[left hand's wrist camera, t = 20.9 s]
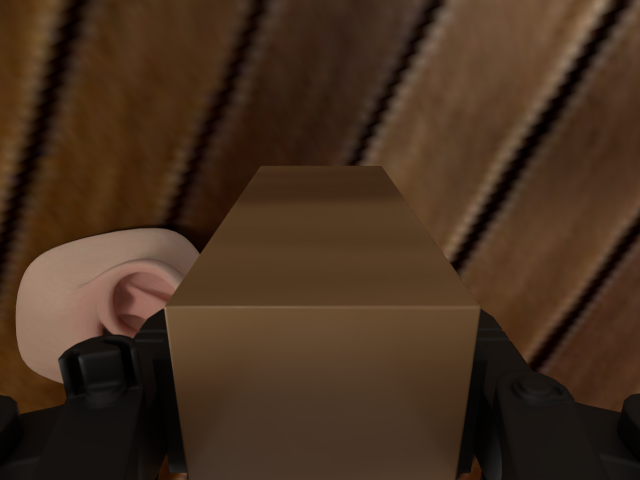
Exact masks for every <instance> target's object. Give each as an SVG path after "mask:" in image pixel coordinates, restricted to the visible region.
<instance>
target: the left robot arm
mask: <svg viewBox="0 0 640 480" xmlns="http://www.w3.org/2000/svg"><path fill="white" fill-rule="evenodd" d="M58 363H59V367H60V371H61V375H62V379H63V383H64V388H65V392H66V396H67V399H66V401H65V403H64V404H63V405H60V406H56V407H52V408H47V409H43V410H38V411H33V412H29V413H24V414H20V412H19V409H18V406H17V402H16V401H14V400H13V399H12V398H11V397H8V396H2V395H0V480H160V478H159V470H160V468H161V465H162V463H163V460H164V458H165V455H166V453H167V457H168V464H169V470H170V473H187V470H186V463H185V455H184V448H183V441H182V434H181V426H180V419H179V412H178V405H177V397H176V390H175V383H174V376H173V369H172V361H171V354H170V347H169V340H168V332H167V325H166V318H165V311H164V309H161V310H159V311H158V312H156V313H155V314H153V315H152V316H150V317H149V318H147V320H146V321H145V322H144V324H143V325H142V327H141V328H140V329H139V333H136V335H135V336H134V338H133V339H132V338H131V337H129V336H125V335H121V334H111V335H102V336H97V337H92V338H89V339H87V340H84V341H82V342H79V343H77V344H75V345H74V346H72V347H70V348H69V349H67V350H66V351H65V352H64V353H63V354H62V355H61V356H60V357H59V358H58ZM474 452H475V455H476V457H477V460H478V462H479V465H480V467H481V469H482V472H481V478H480V480H640V393H639V394H633V395H630V396H629V397H628V398H627V399H625V400H624V404H623V407H622V410H621V412H616V411H611V410H607V409H602V408H597V407H592V406H588V405H584V404H580V403H577V402H575V400H574V398H573V396H572V395H571V394H570V392H569V391H568V390H567V388H566V387H564V386H563V385H562V384H560V383H559V382H558V381H556V380H555V379H553V378H550V377H548V376H546V375H544V374H541V373H537V372H533V371H532V369H531V368H530V367H529V365H528V364H527V363H526V361H525V360H524V359H523V357H522V356H521V354H520V353H519V352H518V350H517V349H516V348H515V346H514V345H513V343H512V342H511V341H509V338H508V337H507V335H506V334H505V332H504V331H502V328H501V327H500V326H499V324H498V323H497V321H496V320H495V319H494V317H492V316H491V315H489V314H488V313H486V312H485V311H483V310H482V309H480V316H479V323H478V330H477V337H476V344H475V351H474V358H473V365H472V372H471V379H470V386H469V393H468V400H467V407H466V414H465V421H464V428H463V435H462V442H461V449H460V456H459V463H458V470H457V473H470V472H471V466H472V459H473V453H474Z"/></svg>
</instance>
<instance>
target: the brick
mask: <svg viewBox="0 0 640 480" xmlns="http://www.w3.org/2000/svg"><path fill="white" fill-rule="evenodd" d="M480 309H481V308H480V305H479V304H478V302H477V301H476V300H475V298H474V297H473V295H472V294H471V293H470V291H469V290H468V288H467V287H466V285H465V284H464V283H463V281H462V280H461V278H460V277H459V275H458V274H457V273H456V271H455V270H454V268H453V267H452V266H451V264H450V263H449V261H448V260H447V258H446V257H445V256H444V254H443V253H442V251H441V250H440V248H439V247H438V246H437V244H436V243H435V241H434V240H433V239H432V237H431V236H430V234H429V233H428V231H427V230H426V229H425V227H424V226H423V224H422V223H421V221H420V220H419V219H418V217H417V216H416V214H415V213H414V211H413V210H412V209H411V207H410V206H409V204H408V203H407V202H406V200H405V199H404V197H403V196H402V194H401V193H400V192H399V190H398V189H397V187H396V186H395V184H394V183H393V182H392V180H391V179H390V177H389V176H388V175H387V173H386V172H385V170H384V169H383V167H382V166H261V167H260V168H259V170H258V171H257V172H256V174H255V175H254V177H253V178H252V180H251V181H250V183H249V184H248V186H247V187H246V188H245V190H244V191H243V193H242V194H241V196H240V197H239V199H238V200H237V202H236V203H235V204H234V206H233V207H232V209H231V210H230V212H229V213H228V215H227V216H226V218H225V219H224V220H223V222H222V223H221V225H220V226H219V228H218V229H217V231H216V232H215V234H214V235H213V236H212V238H211V239H210V241H209V242H208V244H207V245H206V247H205V248H204V250H203V251H202V252H201V254H200V255H199V257H198V258H197V260H196V261H195V263H194V264H193V266H192V267H191V268H190V270H189V271H188V273H187V274H186V276H185V277H184V279H183V280H182V282H181V283H180V284H179V286H178V287H177V289H176V290H175V292H174V293H173V295H172V296H171V298H170V299H169V300H168V302H167V303H166V305H165V307H164V311H165V318H166V325H167V332H168V340H169V347H170V354H171V361H172V369H173V376H174V383H175V390H176V397H177V405H178V412H179V419H180V426H181V434H182V441H183V448H184V455H185V463H186V470H187V477H188V480H456V477H457V470H458V463H459V456H460V449H461V442H462V435H463V428H464V421H465V414H466V407H467V400H468V393H469V386H470V379H471V372H472V365H473V358H474V351H475V344H476V337H477V330H478V323H479V316H480Z"/></svg>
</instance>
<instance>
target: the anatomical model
mask: <svg viewBox="0 0 640 480" xmlns="http://www.w3.org/2000/svg"><path fill="white" fill-rule="evenodd" d="M199 255H200V254H199V252H198V251H197V250H196V248H195V247H194V246H193V245H192V244H191V243H190V242H189V241H188V240H187V239H186V238H185V237H184V236H182V235H180V234H178V233H177V232H174V231H171V230H167V229H160V228H142V229H132V230H124V231H117V232H111V233H106V234H101V235H96V236H92V237H88V238H83V239H80V240H76V241H73V242H69V243H66V244H63V245H61V246H58V247H55V248H53V249H51V250H49V251H47V252H45V253H43V254H42V255H40V256H39V257H38V258H36V259H35V260H34V261H33V262H32V263H31V264H30V266H29V267H28V268H27V270H26V272H25V273H24V276H23V278H22V281H21V284H20V287H19V291H18V297H17V304H16V334H17V341H18V347H19V350H20V353H21V356H22V358H23V360H24V361H25V363H26V364H27V366H29V367H30V368H31V369H32V370H33V371H35V372H37V373H38V374H40V375H42V376H44V377H47V378H49V379H51V380H54V381H57V382H60V383H63V379H62V375H61V371H60V367H59V363H58V358H59V357H60V356H61V355H62V354H63V353H64V352H65V351H66V350H67V349H69V348H70V347H72V346H74V345H75V344H77V343H79V342H82V341H84V340H87V339H89V338H92V337H97V336H102V335H111V334H121V335H125V336H129V337H131V338H132V339H133V338H134V336H135V335H136V333H139V329H140V328H141V327H142V325H143V324H144V322H145V321H146V320H147V318H149V317H150V316H152V315H153V314H155V313H156V312H158V311H159V310H161V309H164V307H165V305H166V303H167V302H168V300H169V299H170V298H171V296H172V295H173V293H174V292H175V290H176V289H177V287H178V286H179V284H180V283H181V282H182V280H183V279H184V277H185V276H186V274H187V273H188V271H189V270H190V268H191V267H192V266H193V264H194V263H195V261H196V260H197V258H198V257H199ZM63 384H64V383H63Z"/></svg>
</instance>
